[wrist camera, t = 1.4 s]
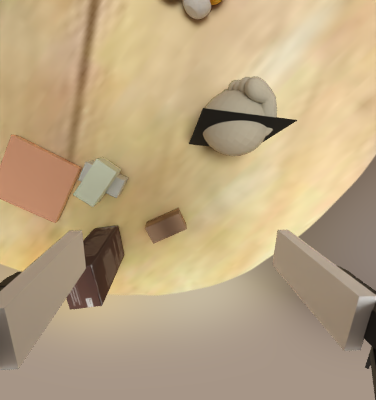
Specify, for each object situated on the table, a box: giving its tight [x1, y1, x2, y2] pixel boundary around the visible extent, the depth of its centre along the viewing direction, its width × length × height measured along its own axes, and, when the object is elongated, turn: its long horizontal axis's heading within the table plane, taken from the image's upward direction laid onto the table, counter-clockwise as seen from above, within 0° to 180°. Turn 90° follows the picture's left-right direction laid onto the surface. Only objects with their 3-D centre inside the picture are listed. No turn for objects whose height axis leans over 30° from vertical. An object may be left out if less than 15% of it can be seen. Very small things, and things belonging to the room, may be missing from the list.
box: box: [66, 226, 124, 309], centre depth 31 cm, size 6×4×12 cm
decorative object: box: [189, 77, 297, 156], centre depth 28 cm, size 13×10×10 cm
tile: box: [0, 135, 81, 223], centre depth 33 cm, size 10×10×1 cm
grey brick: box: [78, 160, 128, 198], centre depth 33 cm, size 6×3×3 cm, turn 61°
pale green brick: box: [73, 157, 121, 207], centre depth 30 cm, size 6×3×3 cm, turn 143°
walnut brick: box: [145, 208, 187, 244], centre depth 36 cm, size 6×3×3 cm, turn 114°
